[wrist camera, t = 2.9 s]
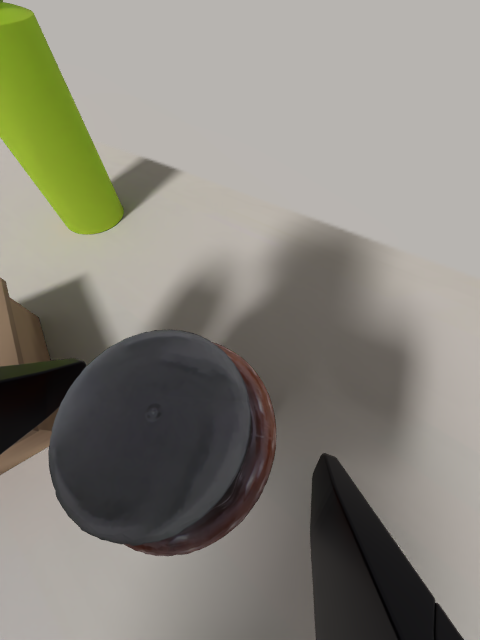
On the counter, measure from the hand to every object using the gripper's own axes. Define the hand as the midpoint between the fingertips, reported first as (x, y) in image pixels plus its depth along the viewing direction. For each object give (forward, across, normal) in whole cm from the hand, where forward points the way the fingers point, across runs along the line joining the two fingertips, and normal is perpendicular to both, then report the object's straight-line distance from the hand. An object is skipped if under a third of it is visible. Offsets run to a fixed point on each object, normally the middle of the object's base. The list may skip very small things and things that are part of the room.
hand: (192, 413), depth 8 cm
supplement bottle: (+5, 0, +6) cm, 8 cm away
